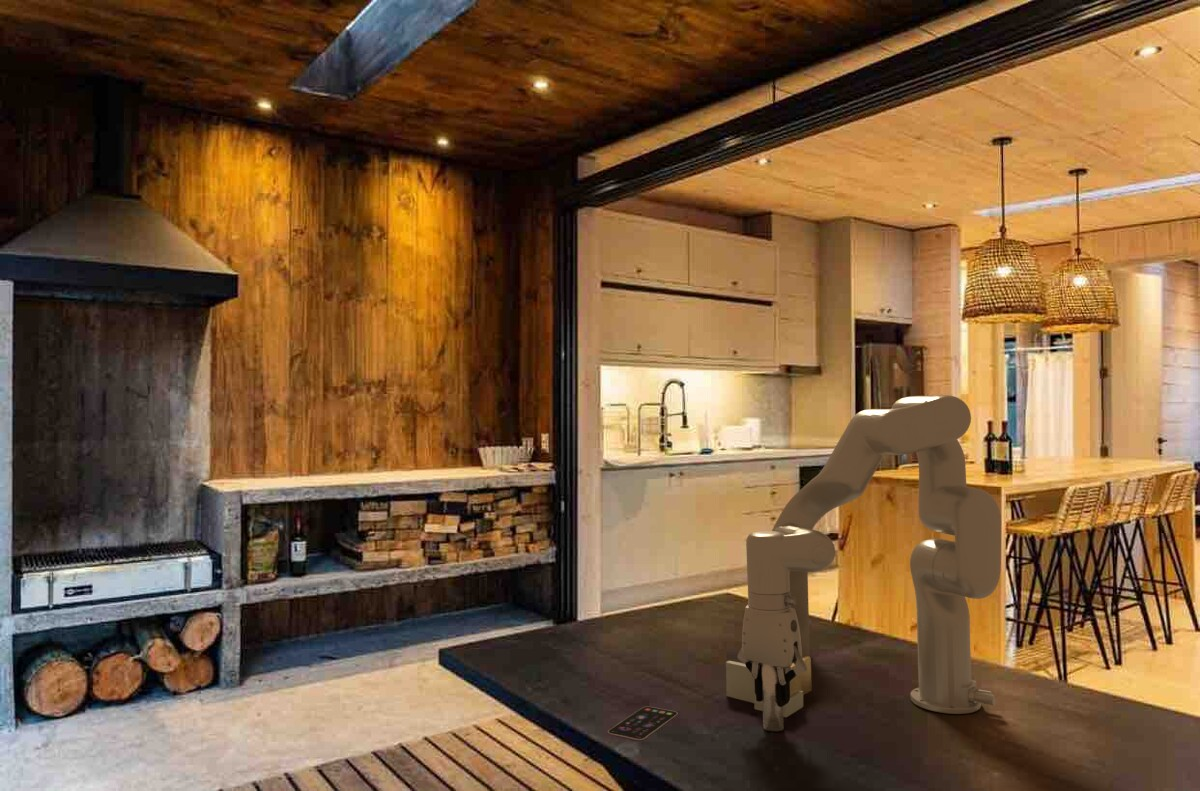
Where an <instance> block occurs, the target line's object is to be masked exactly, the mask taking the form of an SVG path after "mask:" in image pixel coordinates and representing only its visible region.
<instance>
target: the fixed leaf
mask: <svg viewBox="0 0 1200 791" xmlns="http://www.w3.org/2000/svg"><path fill="white" fill-rule="evenodd" d="M802 659H803V661H804V663H805V665H806V667H807V670H806V671H805V672H803V673H801V674H799V675H797V676H795V677H794V678H793V679H792V681H790V696H791V695H793V694H794V693H796V692H798V691H799V690H800V691H803V696H804V695H806V694H808V693H809V692H811V691H812V660H811V659H812V658H811V656H809V657H808V656H806V657H804V658H802ZM794 668H795V664H794V663H793V662H792V666H791V670H792V669H794Z"/></svg>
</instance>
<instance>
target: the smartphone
mask: <svg viewBox="0 0 1200 791" xmlns="http://www.w3.org/2000/svg"><path fill="white" fill-rule="evenodd" d="M678 714H679V713H678V712H677V711H675V710H670V709H664V708H659V707H655V706H643V707H641V708H640V709H638V710H637V711H635V712H633V713H632V714H630V715H628V716H627V717H626V718H625V719H623V720H621V721H620V722H618V723H617V724H616V725H614V726H612V727H611V728H610V729H609V730H607V734H609V735H611V736H616V737H620V738H625V739H629V740H634V741H637V742H638V741H645V740H646V739H647V738H649V737H650V736H651V735H652V734H655V733H656V732H657V731H658V730H659V729H661V728H662V727H663V726H665V725H666V724H668V723H669V722H671V721H672V720H673V719H674V718H675V717H677V716H678Z"/></svg>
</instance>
